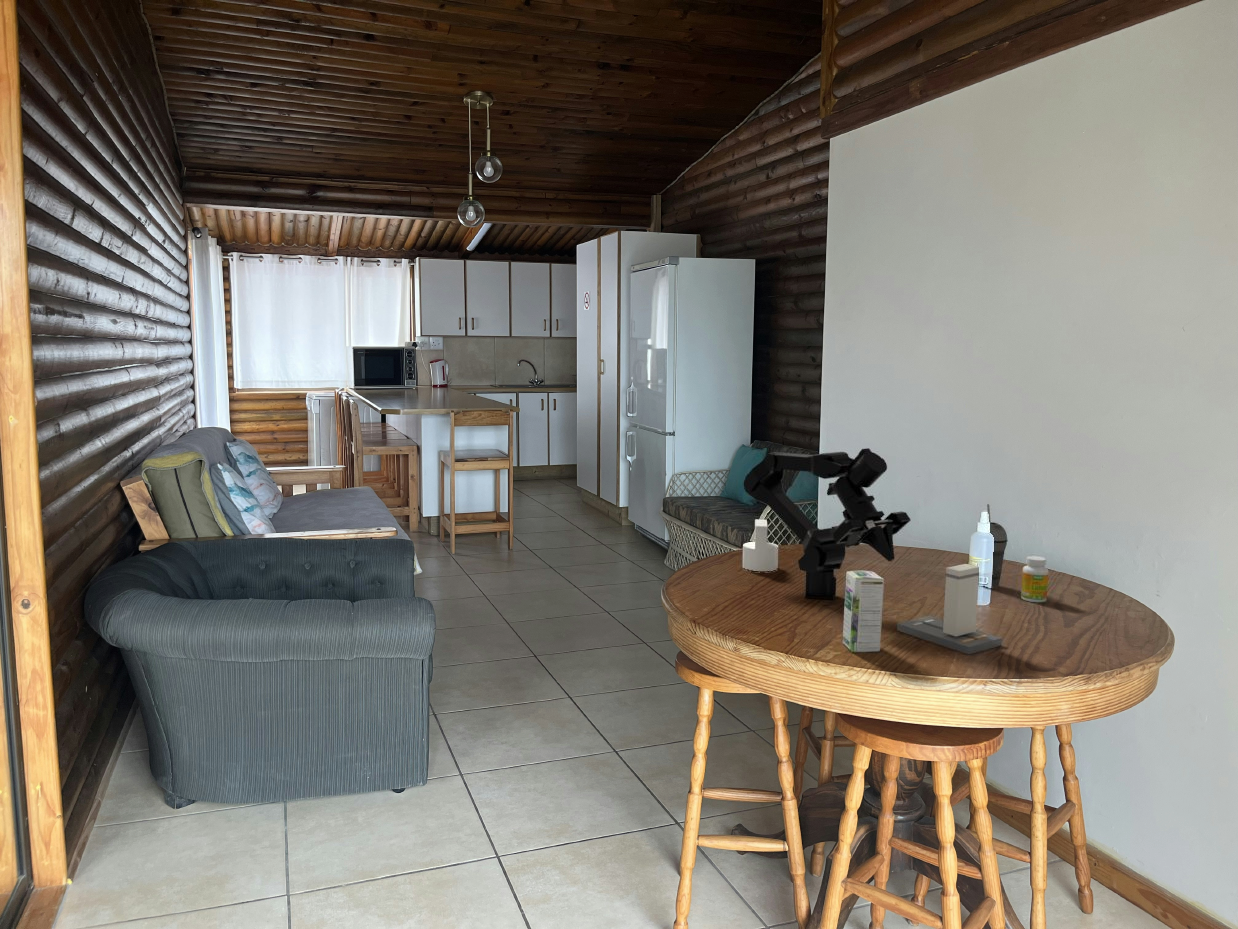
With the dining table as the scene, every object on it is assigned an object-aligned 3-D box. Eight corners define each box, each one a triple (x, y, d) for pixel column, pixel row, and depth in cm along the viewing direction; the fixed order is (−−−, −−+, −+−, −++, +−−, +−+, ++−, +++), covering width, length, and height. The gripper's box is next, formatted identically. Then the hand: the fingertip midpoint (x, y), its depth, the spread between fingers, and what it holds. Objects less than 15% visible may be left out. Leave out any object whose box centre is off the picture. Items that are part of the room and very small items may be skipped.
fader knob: (942, 632, 178) (946, 567, 176) (962, 627, 181) (966, 563, 179) (956, 636, 175) (959, 571, 173) (975, 631, 178) (979, 566, 176)
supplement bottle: (1030, 603, 204) (1033, 561, 203) (1015, 596, 210) (1018, 555, 208) (1051, 602, 205) (1054, 560, 204) (1036, 595, 211) (1039, 554, 209)
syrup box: (841, 643, 177) (844, 570, 175) (871, 642, 177) (874, 570, 175) (851, 653, 171) (854, 578, 169) (881, 652, 172) (885, 577, 170)
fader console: (897, 630, 185) (897, 623, 184) (929, 622, 190) (929, 615, 190) (968, 654, 170) (969, 646, 170) (1001, 645, 176) (1002, 637, 176)
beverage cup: (1007, 590, 215) (1013, 507, 212) (975, 589, 216) (980, 506, 213) (1001, 582, 222) (1006, 502, 219) (969, 581, 223) (974, 501, 220)
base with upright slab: (742, 563, 240) (743, 518, 239) (777, 564, 239) (778, 520, 237) (742, 571, 232) (743, 525, 230) (778, 573, 230) (779, 526, 229)
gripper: (863, 516, 209) (898, 574, 201) (804, 525, 199) (838, 586, 192) (892, 488, 201) (930, 547, 194) (832, 495, 191) (869, 558, 184)
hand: (891, 560), depth 191 cm, fingers closed
